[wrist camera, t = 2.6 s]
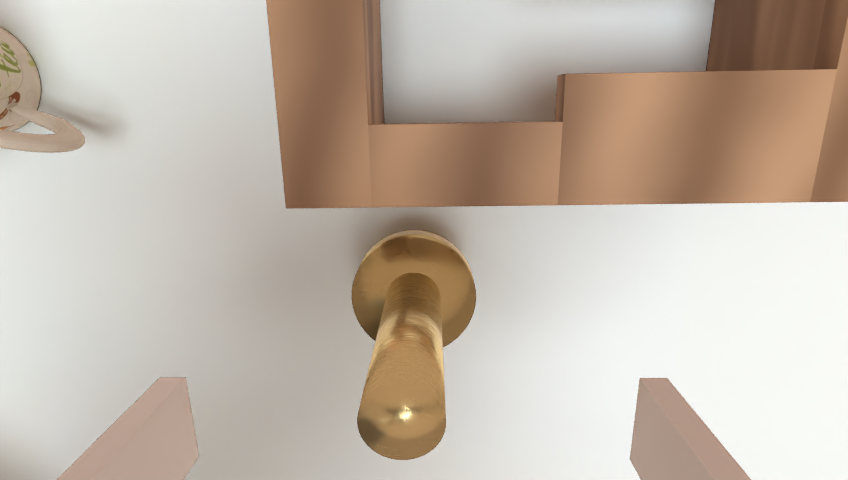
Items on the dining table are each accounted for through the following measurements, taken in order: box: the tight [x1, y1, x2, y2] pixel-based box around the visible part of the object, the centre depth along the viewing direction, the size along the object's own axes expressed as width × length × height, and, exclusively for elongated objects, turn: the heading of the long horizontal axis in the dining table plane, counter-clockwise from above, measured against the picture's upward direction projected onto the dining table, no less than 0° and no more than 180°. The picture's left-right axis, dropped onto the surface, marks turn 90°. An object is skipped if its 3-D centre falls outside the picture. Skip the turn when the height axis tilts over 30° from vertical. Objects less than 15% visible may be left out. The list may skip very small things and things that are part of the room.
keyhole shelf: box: [266, 0, 848, 208], centre depth 22 cm, size 24×14×9 cm, turn 91°
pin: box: [352, 230, 476, 460], centre depth 22 cm, size 6×6×16 cm
